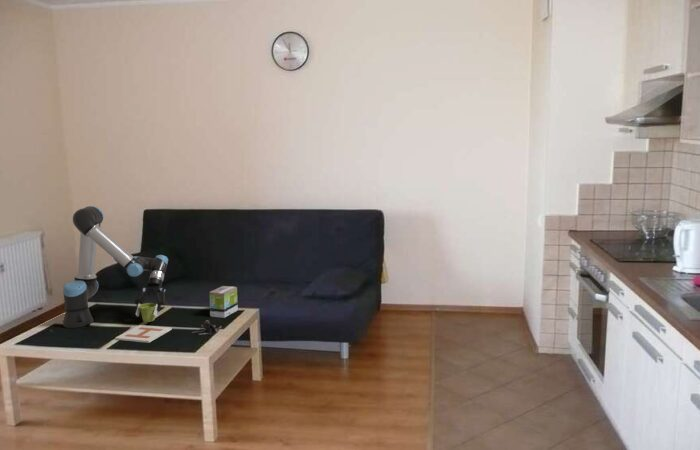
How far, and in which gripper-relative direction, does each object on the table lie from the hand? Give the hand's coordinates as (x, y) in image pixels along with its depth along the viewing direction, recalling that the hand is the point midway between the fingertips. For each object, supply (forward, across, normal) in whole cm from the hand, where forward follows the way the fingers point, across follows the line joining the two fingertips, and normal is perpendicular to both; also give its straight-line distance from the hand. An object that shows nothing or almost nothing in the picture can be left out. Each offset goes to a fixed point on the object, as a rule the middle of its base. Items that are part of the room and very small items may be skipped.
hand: (145, 315), depth 312 cm
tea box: (-11, +38, +19) cm, 43 cm away
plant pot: (+1, 0, +5) cm, 5 cm away
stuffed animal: (+10, +37, -2) cm, 38 cm away
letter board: (+14, +5, -6) cm, 16 cm away
